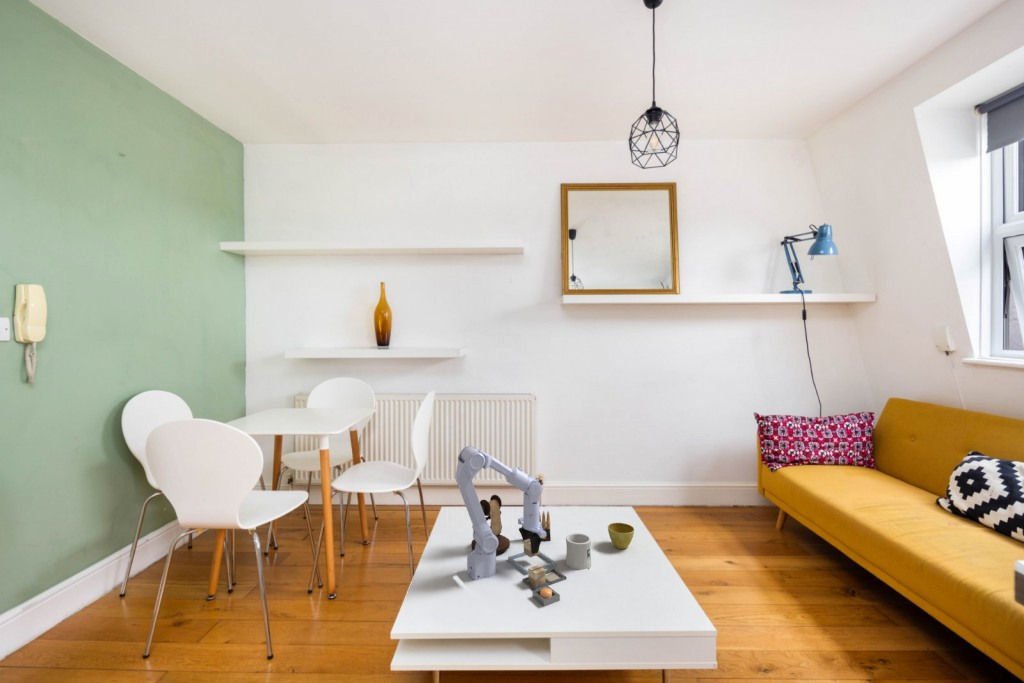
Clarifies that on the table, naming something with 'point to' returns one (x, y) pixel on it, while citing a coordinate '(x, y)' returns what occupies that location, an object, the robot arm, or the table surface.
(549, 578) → the plate
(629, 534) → the flower pot
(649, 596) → the table surface
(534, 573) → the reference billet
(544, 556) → the light blue square tray
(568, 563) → the mug
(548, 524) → the ammunition clip
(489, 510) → the scroll
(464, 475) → the robot arm
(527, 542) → the tan cardboard block
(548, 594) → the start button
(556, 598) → the button housing
